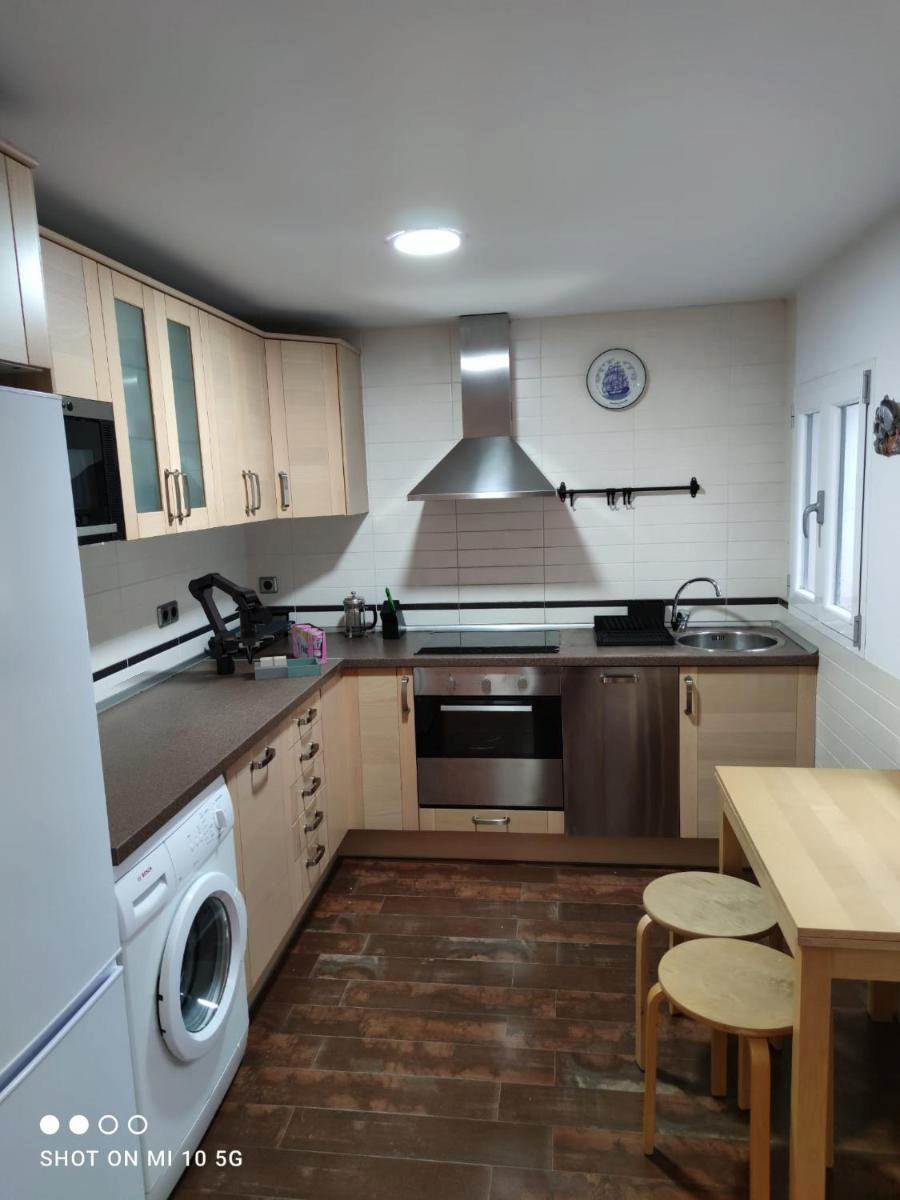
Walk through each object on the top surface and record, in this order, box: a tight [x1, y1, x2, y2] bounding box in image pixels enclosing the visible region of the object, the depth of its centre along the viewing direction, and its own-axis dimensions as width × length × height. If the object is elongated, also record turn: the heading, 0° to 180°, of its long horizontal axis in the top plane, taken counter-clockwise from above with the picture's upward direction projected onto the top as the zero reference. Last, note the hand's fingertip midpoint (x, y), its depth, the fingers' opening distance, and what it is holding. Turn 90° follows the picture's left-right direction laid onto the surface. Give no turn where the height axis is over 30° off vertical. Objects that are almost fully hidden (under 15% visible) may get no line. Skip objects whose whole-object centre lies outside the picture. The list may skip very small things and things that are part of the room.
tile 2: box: [273, 655, 287, 666], centre depth 297 cm, size 4×4×2 cm
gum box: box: [291, 622, 328, 665], centre depth 321 cm, size 24×8×14 cm, turn 27°
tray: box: [286, 657, 322, 679], centre depth 300 cm, size 12×14×4 cm
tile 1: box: [259, 656, 274, 667], centre depth 296 cm, size 4×4×2 cm
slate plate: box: [254, 660, 288, 681], centre depth 297 cm, size 12×12×4 cm
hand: (250, 664), depth 294 cm, fingers closed
